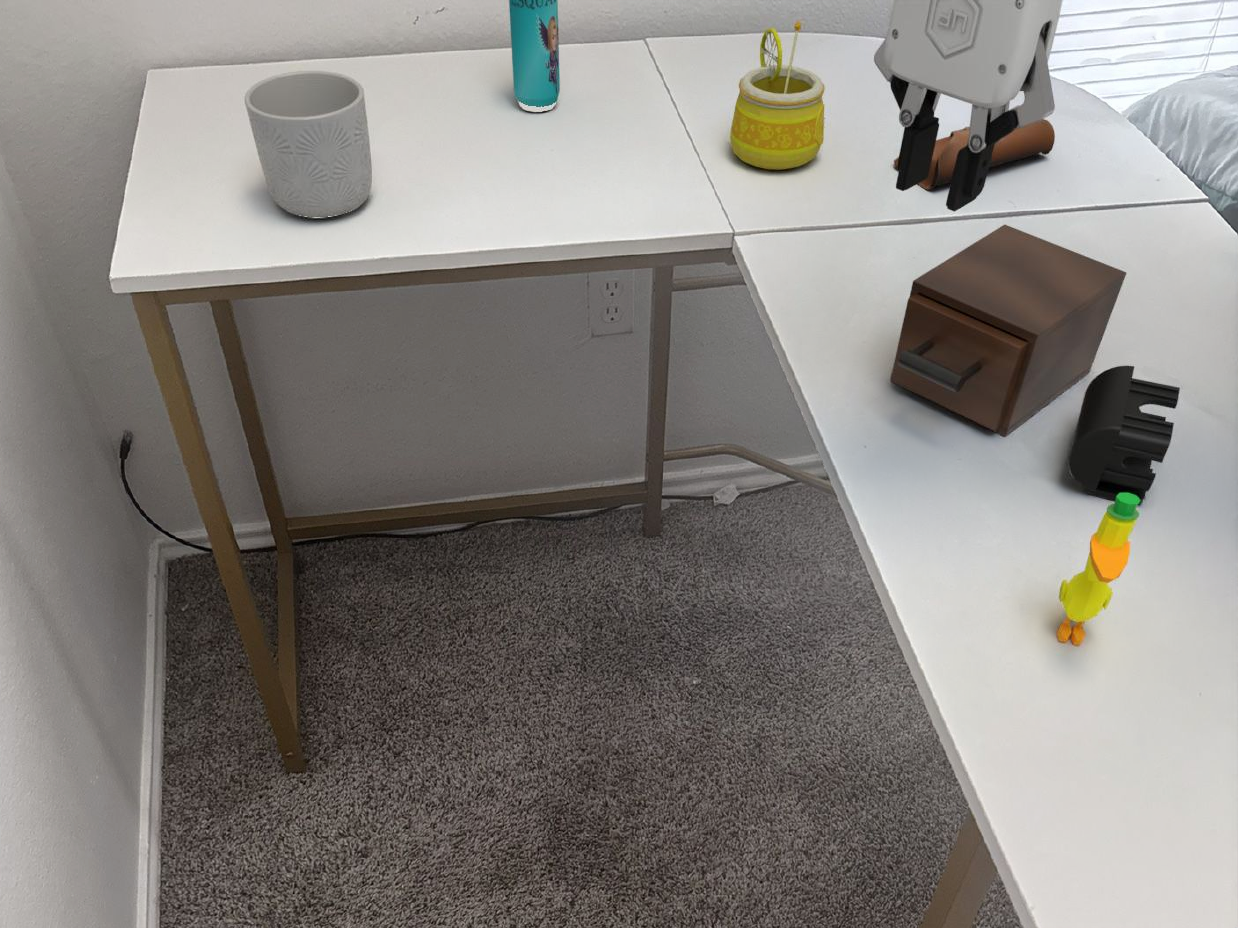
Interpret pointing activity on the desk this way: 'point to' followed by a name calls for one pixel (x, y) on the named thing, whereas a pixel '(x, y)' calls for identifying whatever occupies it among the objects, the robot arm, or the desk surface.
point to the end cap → (1120, 434)
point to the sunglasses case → (1005, 150)
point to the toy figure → (1099, 568)
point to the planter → (312, 141)
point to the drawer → (957, 360)
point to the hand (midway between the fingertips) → (936, 191)
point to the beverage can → (535, 51)
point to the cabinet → (1031, 308)
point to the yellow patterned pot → (778, 112)
